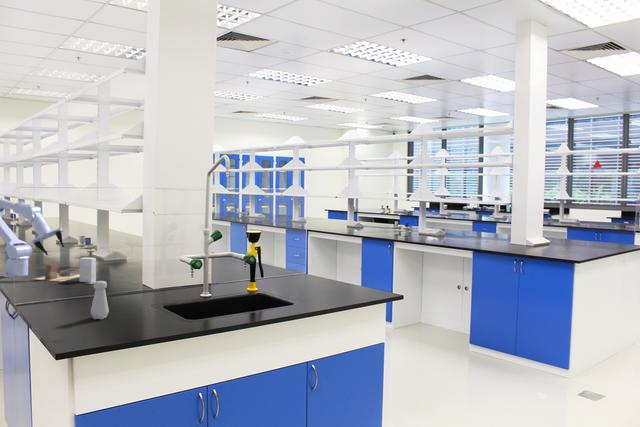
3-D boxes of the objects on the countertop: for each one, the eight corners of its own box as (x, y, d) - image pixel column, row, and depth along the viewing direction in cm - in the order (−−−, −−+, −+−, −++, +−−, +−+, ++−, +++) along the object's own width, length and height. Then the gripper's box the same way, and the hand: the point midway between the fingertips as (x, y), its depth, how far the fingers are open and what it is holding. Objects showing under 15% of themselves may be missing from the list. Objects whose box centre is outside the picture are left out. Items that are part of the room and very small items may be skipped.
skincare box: (96, 282, 238) (96, 257, 237) (91, 284, 234) (91, 258, 233) (84, 282, 238) (84, 257, 238) (78, 283, 234) (79, 258, 234)
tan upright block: (44, 279, 235) (45, 264, 235) (51, 278, 240) (52, 263, 240) (50, 280, 235) (50, 265, 235) (57, 278, 239) (57, 264, 239)
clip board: (31, 281, 236) (31, 274, 236) (64, 273, 258) (64, 267, 257) (61, 283, 233) (61, 276, 233) (91, 276, 254) (91, 269, 254)
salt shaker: (94, 316, 177) (94, 279, 177) (110, 316, 178) (111, 280, 177) (87, 320, 171) (88, 282, 171) (105, 320, 172) (105, 283, 171)
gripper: (24, 231, 234) (38, 255, 231) (55, 217, 240) (69, 240, 238) (27, 236, 240) (41, 260, 238) (57, 222, 246) (71, 245, 244)
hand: (55, 250), depth 238 cm, fingers open, 7 cm apart
